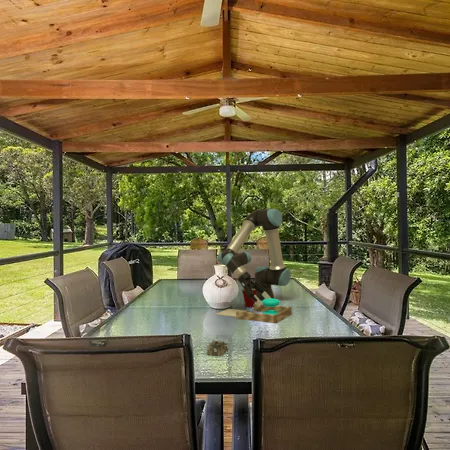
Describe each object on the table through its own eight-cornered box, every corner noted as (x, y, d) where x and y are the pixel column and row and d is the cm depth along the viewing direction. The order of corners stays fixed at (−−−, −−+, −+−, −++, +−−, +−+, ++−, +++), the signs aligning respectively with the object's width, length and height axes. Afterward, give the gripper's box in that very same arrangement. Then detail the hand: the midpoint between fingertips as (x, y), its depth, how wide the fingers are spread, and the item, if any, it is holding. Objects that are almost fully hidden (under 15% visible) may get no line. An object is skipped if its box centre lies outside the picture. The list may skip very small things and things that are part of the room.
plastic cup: (247, 304, 260) (246, 286, 260) (261, 306, 254) (260, 287, 254) (238, 307, 251) (237, 288, 251) (252, 309, 245) (252, 289, 245)
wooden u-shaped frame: (236, 318, 219) (236, 311, 219) (254, 310, 240) (254, 304, 240) (276, 323, 208) (276, 315, 208) (291, 314, 229) (291, 307, 229)
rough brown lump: (222, 357, 156) (222, 347, 156) (205, 355, 158) (204, 345, 158) (229, 349, 166) (229, 339, 166) (213, 347, 168) (212, 338, 168)
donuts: (260, 298, 226) (276, 297, 228) (260, 315, 226) (276, 314, 228) (264, 301, 216) (281, 300, 218) (264, 319, 216) (282, 318, 218)
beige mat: (215, 314, 231) (215, 314, 231) (228, 309, 245) (228, 308, 245) (236, 317, 224) (236, 316, 224) (248, 311, 238) (248, 310, 238)
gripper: (247, 277, 242) (270, 303, 234) (228, 282, 220) (252, 311, 213) (255, 269, 239) (278, 295, 232) (236, 273, 218) (260, 302, 210)
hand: (265, 303), depth 222 cm, fingers open, 13 cm apart
